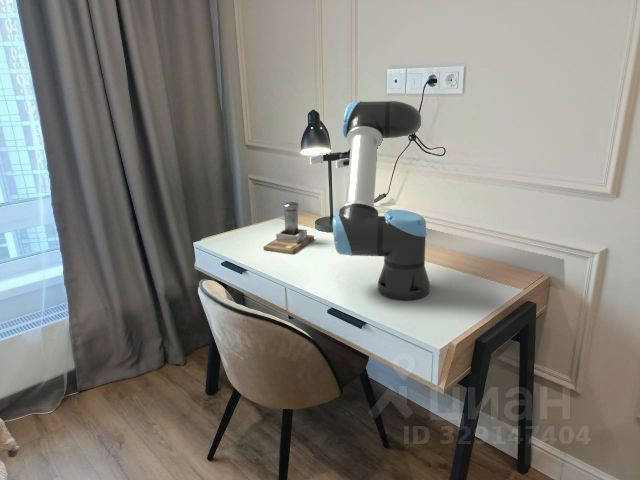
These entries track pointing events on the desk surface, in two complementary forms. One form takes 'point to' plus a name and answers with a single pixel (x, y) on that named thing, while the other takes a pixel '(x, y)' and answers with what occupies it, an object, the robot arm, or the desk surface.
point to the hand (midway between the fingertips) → (323, 162)
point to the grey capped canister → (291, 218)
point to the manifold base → (289, 242)
